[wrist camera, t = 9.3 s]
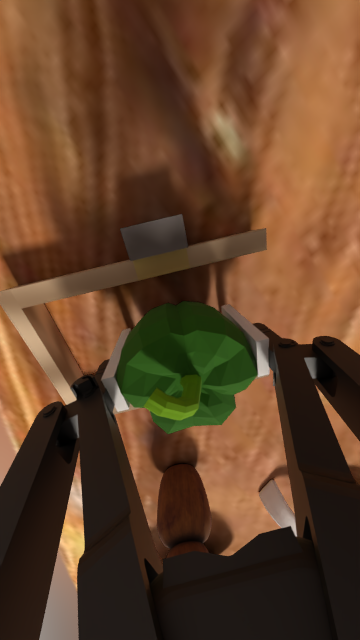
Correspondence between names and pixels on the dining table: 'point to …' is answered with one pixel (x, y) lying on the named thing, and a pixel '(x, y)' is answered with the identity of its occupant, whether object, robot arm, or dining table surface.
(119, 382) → the bell pepper
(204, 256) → the tan wooden u-shaped frame
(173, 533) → the wooden figurine
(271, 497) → the spoon rest
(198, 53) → the dining table surface
